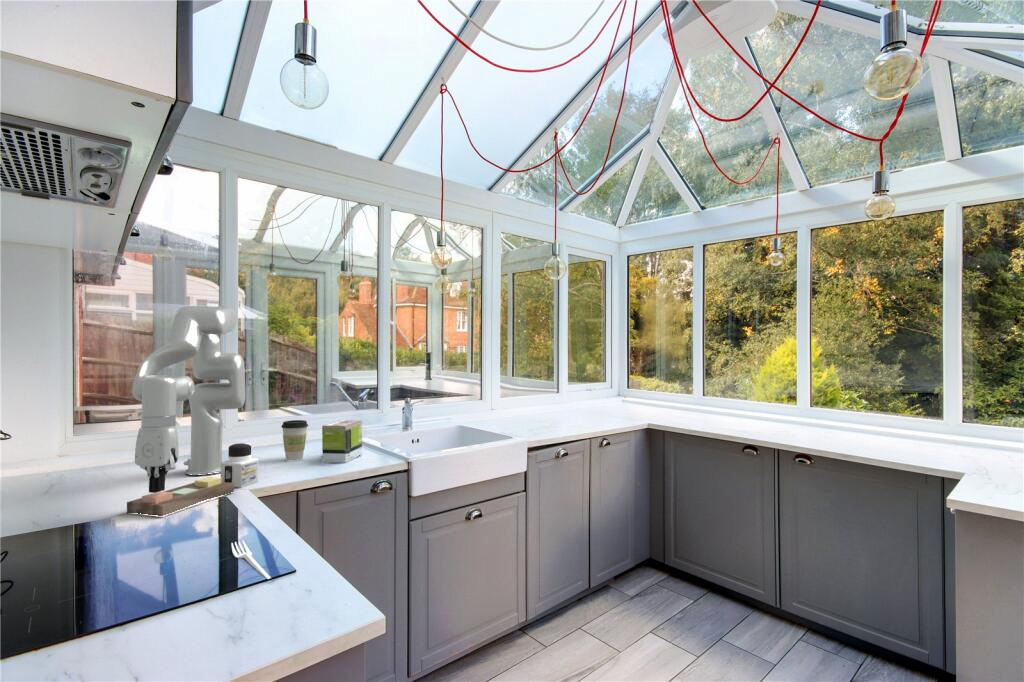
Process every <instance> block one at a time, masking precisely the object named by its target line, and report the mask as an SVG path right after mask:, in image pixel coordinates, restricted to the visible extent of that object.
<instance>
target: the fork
mask: <svg viewBox="0 0 1024 682" xmlns="http://www.w3.org/2000/svg"><path fill="white" fill-rule="evenodd" d="M241 541H242V544H241ZM241 541H240V540H238V543H237V541H234V543H233V542H231V544H230V545H231V550H232V555H233V556H234V557H235V558H237V559H243V558H244V559H245V560H246V561H247V563H249V564H250V566H252V567H253V568H254V569H255V570H257V571H258V572H259V573H260V574H261V575H262V576H263V577H265V578H266V579H267V580H269V579H272V577H271V576H270V575H269V574H268V573H267V572H266V570H265V569H264V568H263V567H262V566H261V565H260V564H259V563H258V562H257V561H256V560H255V558H253V556H252V555H253V552H251V550H250V549H249V547H248V546H247V544H246V543H245V541H244V540H243V539H242V540H241ZM234 545H235V546H234ZM238 545H239V546H238Z"/></svg>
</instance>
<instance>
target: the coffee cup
mask: <svg viewBox="0 0 1024 682" xmlns="http://www.w3.org/2000/svg"><path fill="white" fill-rule="evenodd" d="M280 427H281V428H282V440H283V441H282V442H283V448H284V449H283V450H284V454H285V460H286V459H287V460H297V459H302V458H303V459H304V451H305V447H306V440H307V433H308V432H307V430H308V429H307V428H308V427H309V424H308V422H307V420H302V419H299V420H298V419H295V420H294V419H293V420H285V421H283V422H282V425H281V426H280ZM303 459H302V460H303ZM287 460H286V461H287ZM297 461H298V460H297Z"/></svg>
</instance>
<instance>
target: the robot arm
mask: <svg viewBox="0 0 1024 682" xmlns="http://www.w3.org/2000/svg"><path fill="white" fill-rule="evenodd" d="M237 321H238V316H237V313H236V311H235V309H234V308H232V307H230V306H211V305H209V306H208V305H188V306H187V305H186V306H181V307H180V308H179V309H178V310H177V312H176V313H175V315H174V317H173V321H172V322H171V323H172V324H171V327H170V329H169V333H168V336H167V338H166V342H165V344H164V345H163V346H161V347H159V348H157V349H156V350H155V351H153V352H151V354H149V355H148V356H147V357H145V358H144V359H143V360H142V362H141V363H140V364H139V366H138V368H137V371H136V374H135V377H134V380H133V383H132V390H131V391H132V395H133V397H134V398H135V399H136V401H138V402H141V420H140V421H141V424H140V425H141V426H140V427H139V429H138V433H137V436H136V442H135V449H134V464H135V465H137V466H139V467H140V469H142V470H145V471H146V475H147V478H148V493H149V494H151V493H156V492H163V491H166V490H165V489H166V476H167V475H168V472H169V471H173V470H175V469H176V463H177V462H178V460H179V436H178V431H177V427H176V421H177V420H176V418H177V402H184V401H187V400H188V402H189V407H190V408H189V409H190V419H191V420H190V421H191V423H190V425H191V426H190V458H188V459H187V460H185V461H184V462H183V465H184V466H187V467H188V468H186V469H185V471H184V474H185V473H186V474H192V475H198V474H208V473H214V472H221V463H222V462H223V420H222V418H221V416H220V415H219V414H218V412H216V411H217V410H237V409H240V408H242V407H243V406H244V404H245V402H246V373H245V371H246V370H245V361H244V358H243V356H242V355H240V354H239V353H234V352H232V353H231V352H228V353H227V352H221V340H220V337H219V336H221V335H226V334H228V333H231V332H232V331H233V330H234V329H235V328H236V326H237ZM218 335H219V336H218ZM190 359H192V360H191V361H192V373H193V376H194V377H195V378H196V379H198V380H205V381H216V380H217V381H218V380H219V381H221V380H222V381H223V380H224V381H225V380H227V381H228V382H202V383H197V384H195V382H194V380H193V379H192V378H191V377H190V376H187V375H181V374H180V375H179V374H174V375H173V374H172V375H171V374H157V373H158V372H160V371H161V370H163V369H165V368H167V367H170V366H173V365H175V364H179V363H183V362H184V361H188V360H190ZM186 474H185V475H186Z"/></svg>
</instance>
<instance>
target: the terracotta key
mask: <svg viewBox="0 0 1024 682" xmlns="http://www.w3.org/2000/svg"><path fill="white" fill-rule="evenodd" d="M141 498H142V503H151V504H157V503H160V502H163V501H167V500H170V499H173V493H171V492H163V491H160V492H156V493H149V494H145V495H142V496H141Z"/></svg>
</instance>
